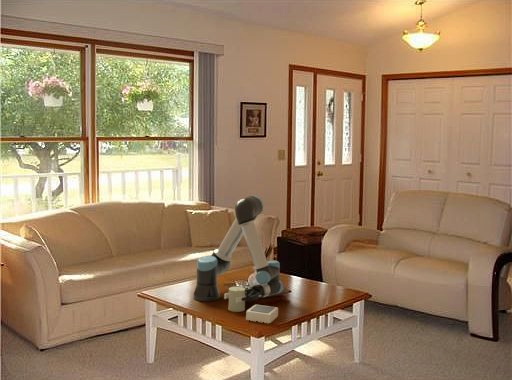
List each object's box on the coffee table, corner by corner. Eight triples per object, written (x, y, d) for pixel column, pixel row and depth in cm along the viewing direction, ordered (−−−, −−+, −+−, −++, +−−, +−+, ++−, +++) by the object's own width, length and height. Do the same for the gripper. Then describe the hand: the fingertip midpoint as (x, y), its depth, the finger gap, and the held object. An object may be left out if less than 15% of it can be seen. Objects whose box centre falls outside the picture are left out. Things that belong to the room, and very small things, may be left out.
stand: (246, 319, 324) (246, 310, 324) (255, 312, 336) (255, 303, 336) (269, 323, 319) (269, 314, 319) (277, 316, 332) (278, 307, 331)
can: (230, 312, 336) (230, 290, 335) (226, 307, 345) (226, 286, 343) (246, 311, 339) (247, 289, 337) (242, 306, 347) (242, 285, 346)
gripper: (273, 301, 346) (243, 309, 330) (247, 293, 361) (217, 300, 346) (274, 288, 345) (244, 296, 329) (247, 280, 360) (217, 287, 345)
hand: (230, 298), depth 338 cm, fingers closed on can, 9 cm apart
